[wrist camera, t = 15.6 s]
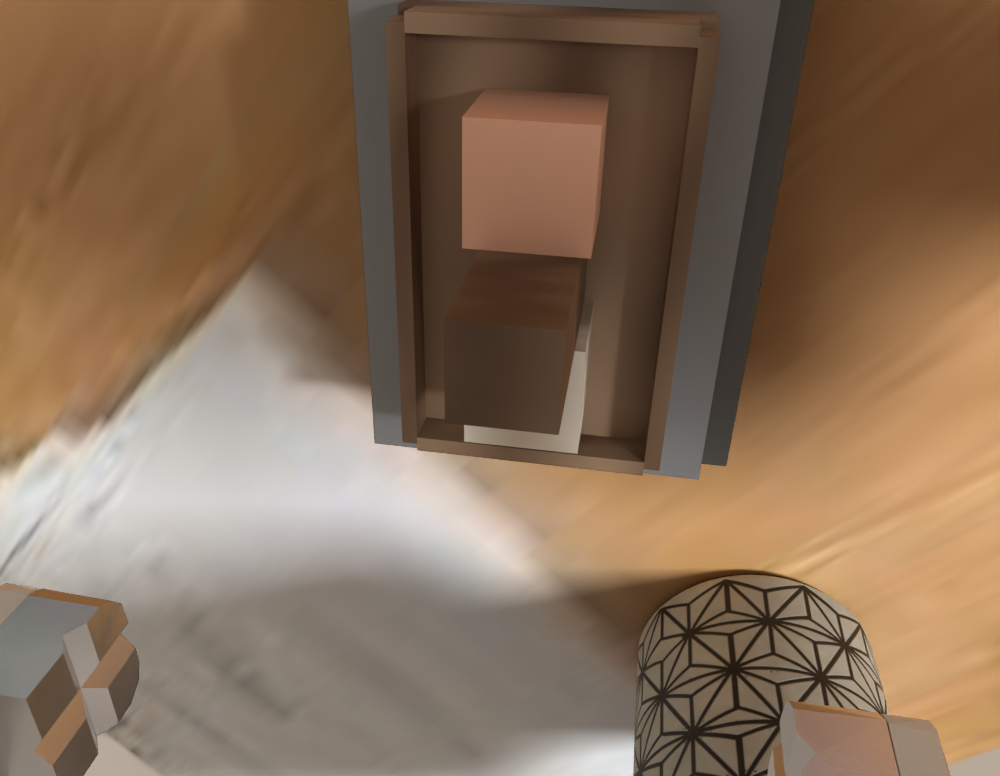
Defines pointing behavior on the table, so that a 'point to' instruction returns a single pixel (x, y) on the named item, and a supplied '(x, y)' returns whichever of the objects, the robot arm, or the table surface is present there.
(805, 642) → the lamp
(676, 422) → the loading dock
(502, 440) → the cream block
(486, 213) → the terracotta block
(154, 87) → the table surface
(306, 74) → the table surface
